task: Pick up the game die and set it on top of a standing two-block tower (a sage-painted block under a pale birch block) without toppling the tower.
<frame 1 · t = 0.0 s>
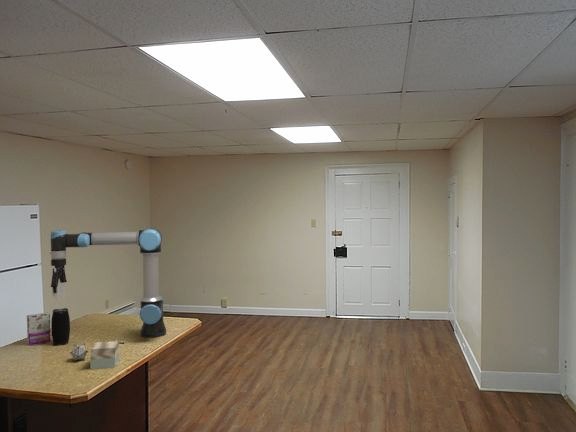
hand: (59, 296, 250), 28 cm above the kitchen island, fingers open, 13 cm apart
candy bar box: (38, 343, 257), on the kitchen island
game die: (79, 360, 227), on the kitchen island
lower block: (104, 365, 221), on the kitchen island, touching upper block
portable speaker: (60, 344, 255), on the kitchen island
upper block: (105, 355, 220), point 5 cm above the kitchen island, touching lower block
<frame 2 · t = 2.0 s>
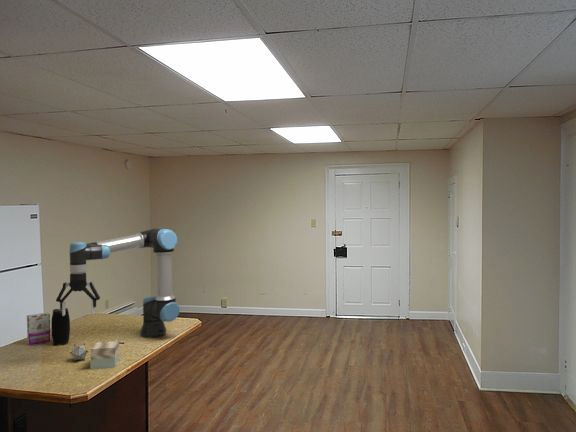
hand: (78, 314, 227), 23 cm above the kitchen island, fingers open, 13 cm apart
lower block: (104, 365, 221), on the kitchen island
upper block: (105, 355, 221), point 5 cm above the kitchen island
everything else where it was.
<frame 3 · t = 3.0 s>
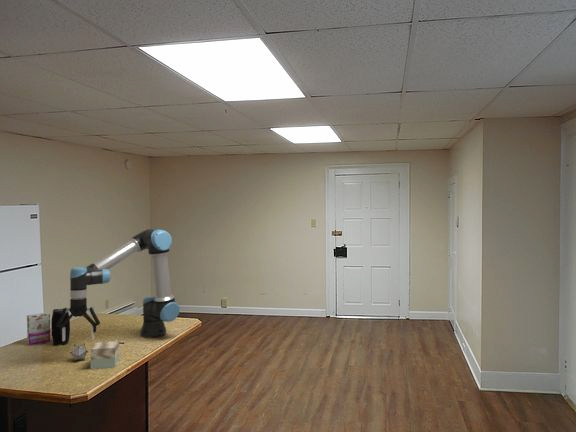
hand: (78, 339, 227), 10 cm above the kitchen island, fingers open, 13 cm apart
lower block: (105, 365, 221), on the kitchen island, touching upper block
upper block: (105, 355, 221), point 5 cm above the kitchen island, touching lower block
everything else where it was.
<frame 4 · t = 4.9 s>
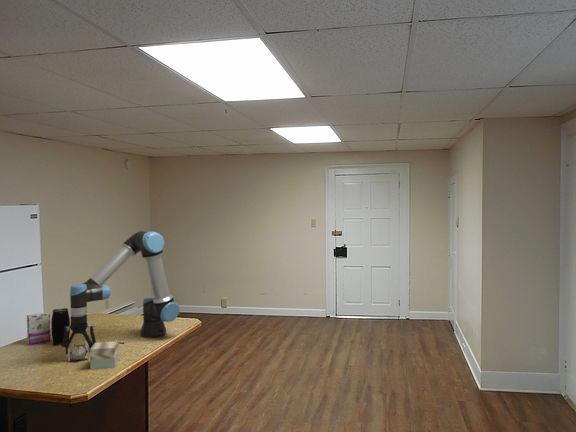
hand: (79, 359, 227), 0 cm above the kitchen island, fingers closed on game die, 8 cm apart
game die: (79, 360, 227), on the kitchen island, touching gripper
everything else where it was.
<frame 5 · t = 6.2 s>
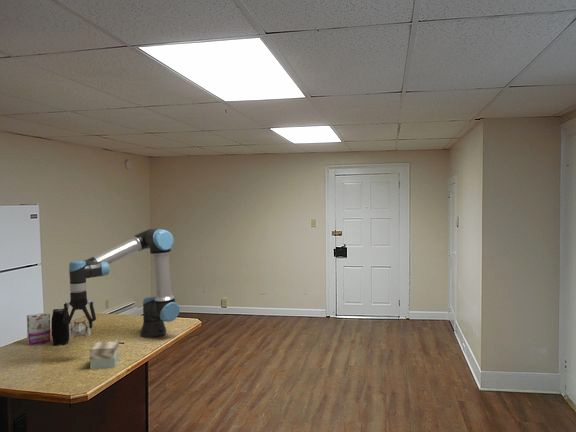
hand: (80, 335, 228), 12 cm above the kitchen island, fingers closed on game die, 8 cm apart
game die: (80, 337, 228), point 11 cm above the kitchen island, touching gripper
lower block: (104, 365, 221), on the kitchen island
upper block: (104, 355, 220), point 5 cm above the kitchen island
everything else where it was.
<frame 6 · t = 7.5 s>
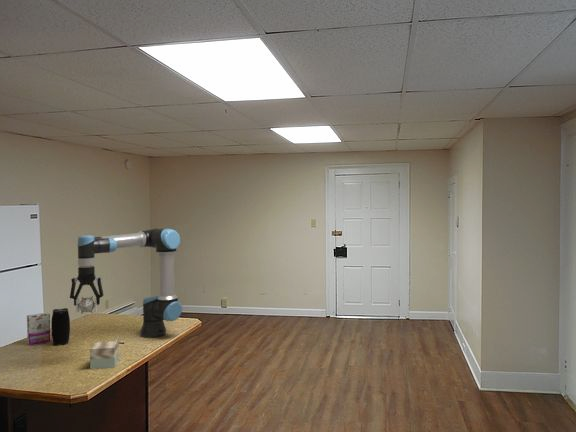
hand: (87, 311, 225), 25 cm above the kitchen island, fingers closed on game die, 8 cm apart
game die: (87, 313, 225), point 24 cm above the kitchen island, touching gripper
lower block: (104, 365, 221), on the kitchen island, touching upper block
upper block: (104, 355, 221), point 5 cm above the kitchen island, touching lower block
everything else where it was.
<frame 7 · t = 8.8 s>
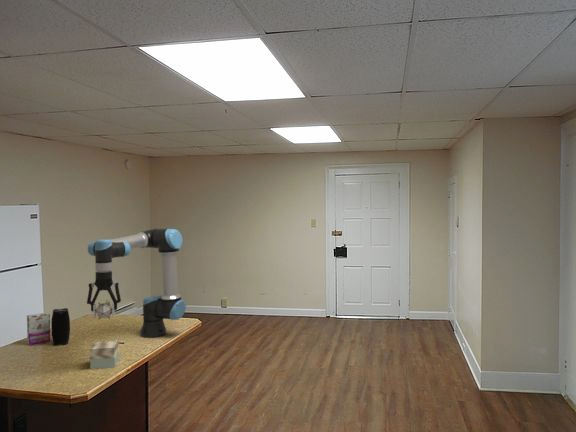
hand: (104, 317, 220), 23 cm above the kitchen island, fingers closed on game die, 8 cm apart
game die: (104, 319, 220), point 22 cm above the kitchen island, touching gripper
everything else where it was.
when the fingers open (11 cm above the kitchen island, at t = 11.6 s): game die drops 1 cm, resting on upper block.
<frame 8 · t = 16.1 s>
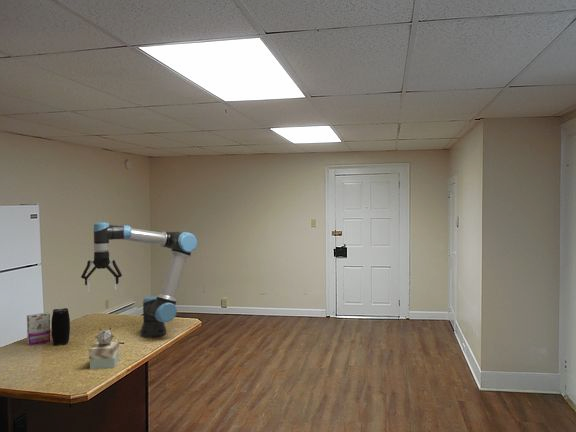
hand: (102, 290, 240), 33 cm above the kitchen island, fingers open, 13 cm apart
game die: (104, 345, 220), point 9 cm above the kitchen island, touching upper block
upper block: (104, 355, 220), point 5 cm above the kitchen island, touching game die, lower block
everything else where it was.
at the end: game die inside the target area on the upper block (0.2 cm from its centre), point 4.8 cm above the upper block's base; game die touching upper block; upper block tilted 0° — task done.
